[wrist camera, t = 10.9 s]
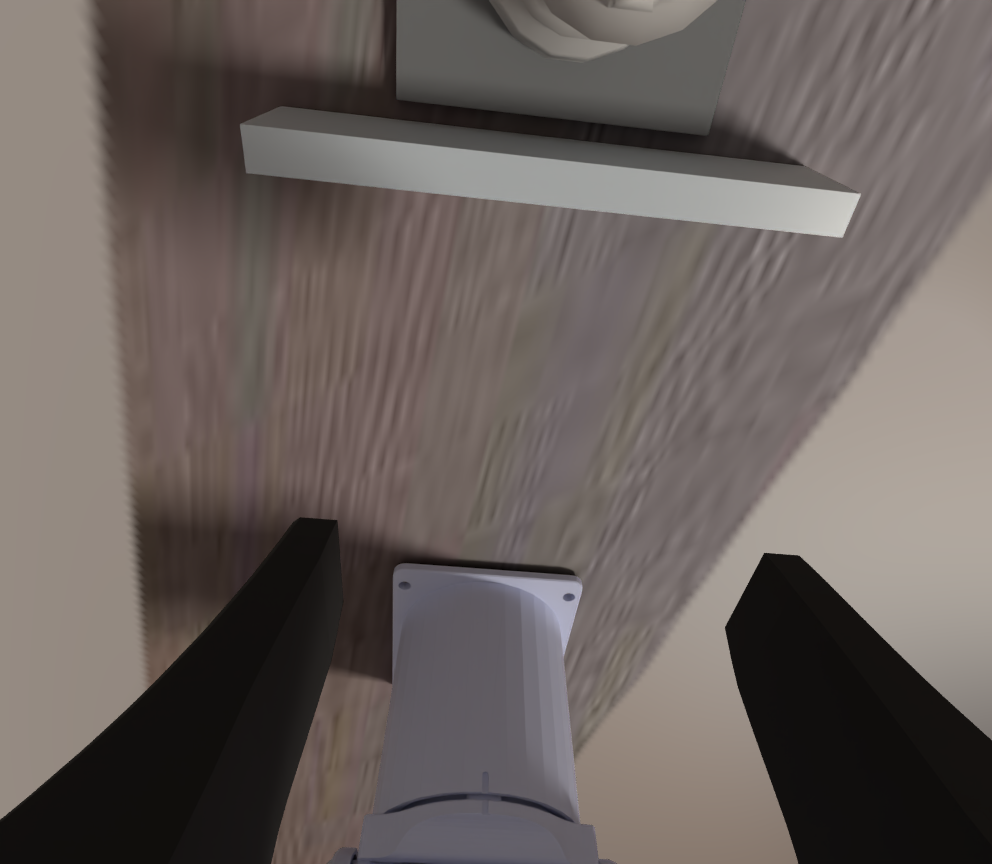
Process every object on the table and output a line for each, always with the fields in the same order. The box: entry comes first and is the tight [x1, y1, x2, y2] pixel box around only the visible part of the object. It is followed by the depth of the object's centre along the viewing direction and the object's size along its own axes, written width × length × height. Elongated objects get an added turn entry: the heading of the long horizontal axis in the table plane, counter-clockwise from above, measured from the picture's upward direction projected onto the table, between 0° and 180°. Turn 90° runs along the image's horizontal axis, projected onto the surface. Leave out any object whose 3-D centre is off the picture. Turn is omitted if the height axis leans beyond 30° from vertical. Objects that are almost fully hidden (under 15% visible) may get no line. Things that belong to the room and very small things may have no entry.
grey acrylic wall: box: [240, 106, 861, 237], centre depth 15 cm, size 1×14×3 cm, turn 84°
